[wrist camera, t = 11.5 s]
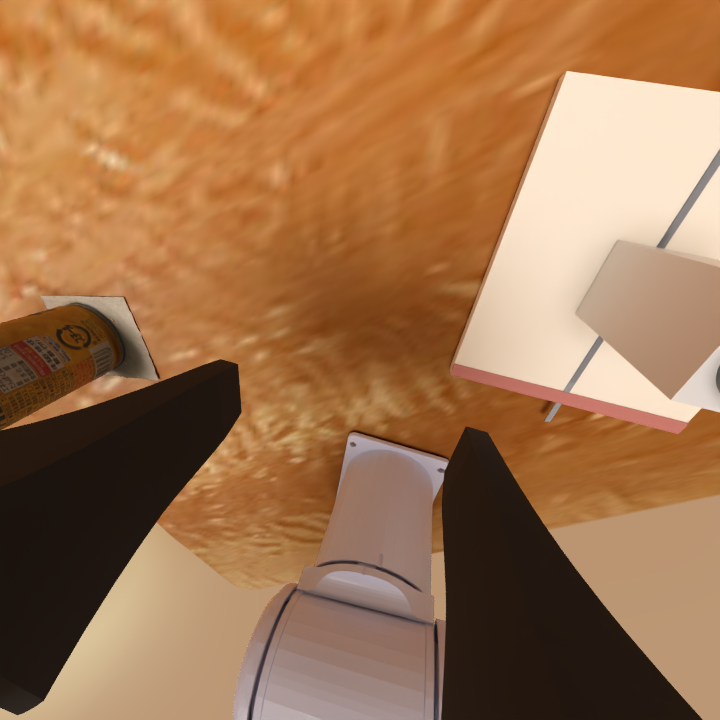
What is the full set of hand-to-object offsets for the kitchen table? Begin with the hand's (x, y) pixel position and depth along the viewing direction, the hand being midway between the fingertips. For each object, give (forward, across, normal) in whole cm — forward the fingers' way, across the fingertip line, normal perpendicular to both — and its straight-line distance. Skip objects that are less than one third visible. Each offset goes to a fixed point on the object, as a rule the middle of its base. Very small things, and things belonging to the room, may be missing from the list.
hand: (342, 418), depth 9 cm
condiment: (+11, +23, +9) cm, 27 cm away
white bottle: (+10, -11, -4) cm, 15 cm away
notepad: (+10, -11, -4) cm, 16 cm away
